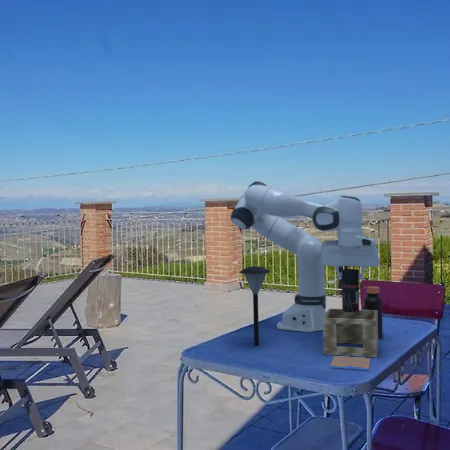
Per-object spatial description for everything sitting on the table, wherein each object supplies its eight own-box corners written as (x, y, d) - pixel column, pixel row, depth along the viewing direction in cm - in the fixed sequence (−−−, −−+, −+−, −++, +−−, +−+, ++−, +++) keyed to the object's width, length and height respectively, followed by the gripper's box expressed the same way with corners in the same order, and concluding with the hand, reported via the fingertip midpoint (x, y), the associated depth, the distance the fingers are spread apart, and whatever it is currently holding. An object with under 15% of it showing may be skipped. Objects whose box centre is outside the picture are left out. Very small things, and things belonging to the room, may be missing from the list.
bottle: (364, 338, 204) (363, 288, 203) (365, 334, 210) (364, 285, 210) (382, 340, 202) (381, 288, 201) (383, 335, 208) (382, 286, 207)
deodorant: (356, 313, 185) (355, 270, 184) (340, 311, 188) (339, 270, 187) (361, 310, 190) (360, 269, 189) (345, 308, 193) (345, 268, 192)
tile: (330, 368, 168) (330, 365, 168) (334, 357, 179) (334, 355, 179) (368, 371, 164) (368, 368, 164) (370, 360, 176) (370, 357, 176)
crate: (323, 354, 183) (323, 318, 183) (329, 342, 200) (329, 308, 200) (376, 358, 178) (376, 320, 177) (378, 344, 195) (377, 310, 194)
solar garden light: (275, 342, 201) (274, 265, 200) (268, 351, 189) (267, 269, 188) (245, 341, 205) (243, 265, 204) (236, 349, 193) (234, 269, 192)
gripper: (320, 241, 188) (320, 278, 189) (378, 241, 182) (379, 280, 182) (322, 239, 194) (322, 276, 195) (379, 240, 188) (379, 278, 188)
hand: (350, 278), depth 188 cm, fingers closed on deodorant, 6 cm apart
